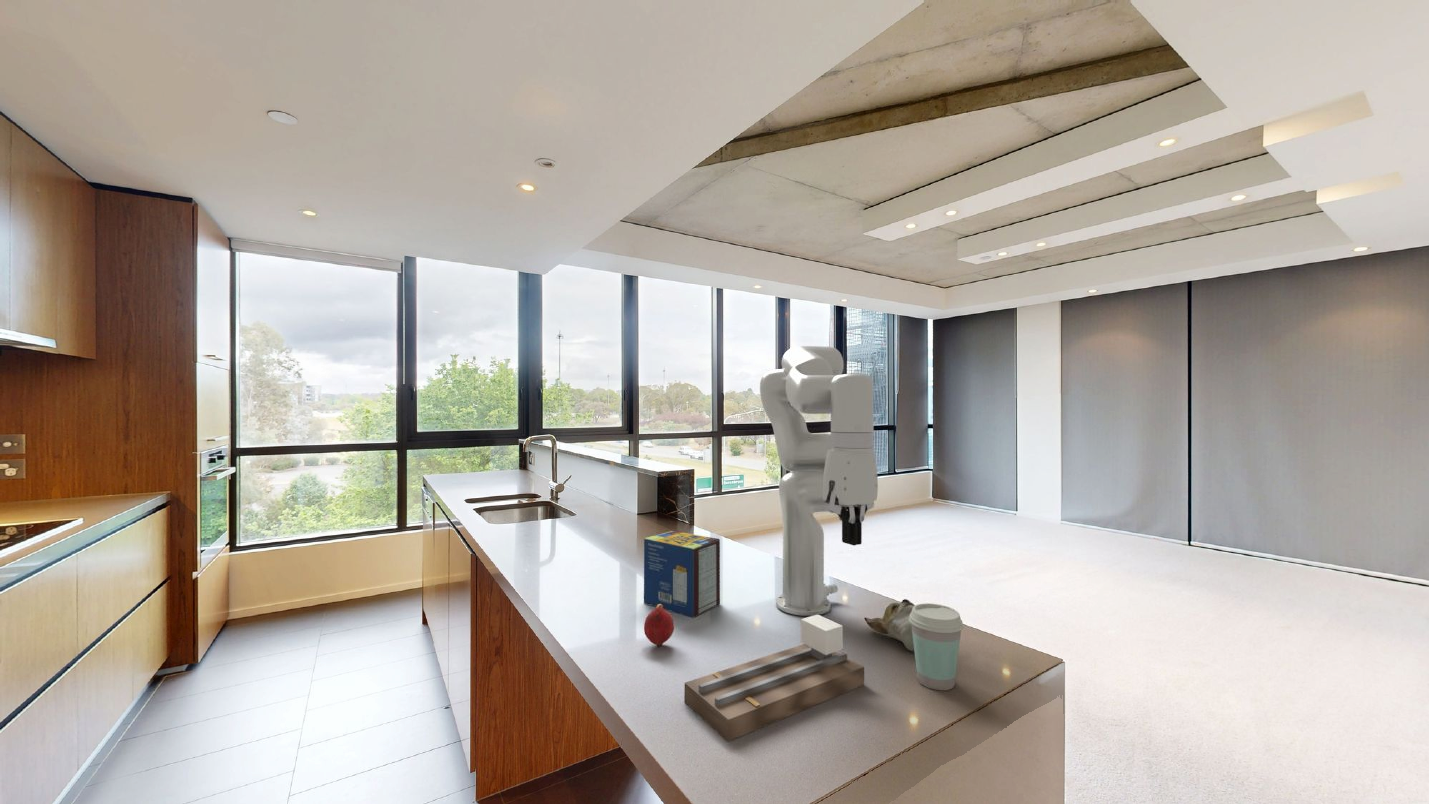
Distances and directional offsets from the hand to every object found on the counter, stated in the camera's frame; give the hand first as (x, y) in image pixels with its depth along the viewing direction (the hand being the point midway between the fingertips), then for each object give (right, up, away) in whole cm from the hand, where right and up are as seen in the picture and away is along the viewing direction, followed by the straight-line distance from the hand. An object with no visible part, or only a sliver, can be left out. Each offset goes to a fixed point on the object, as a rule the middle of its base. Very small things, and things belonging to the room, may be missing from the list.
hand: (851, 543), depth 98 cm
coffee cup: (+13, -22, -6) cm, 26 cm away
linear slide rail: (-15, -22, -10) cm, 28 cm away
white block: (-6, -19, -4) cm, 20 cm away
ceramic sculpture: (+13, -23, +10) cm, 28 cm away
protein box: (-33, -22, +30) cm, 50 cm away
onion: (-36, -22, +7) cm, 43 cm away
